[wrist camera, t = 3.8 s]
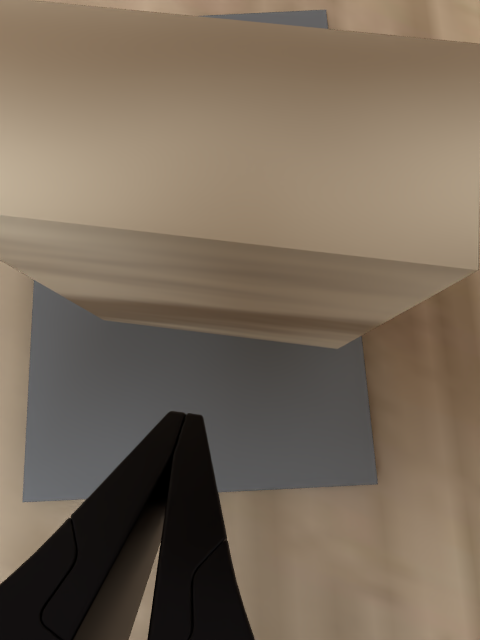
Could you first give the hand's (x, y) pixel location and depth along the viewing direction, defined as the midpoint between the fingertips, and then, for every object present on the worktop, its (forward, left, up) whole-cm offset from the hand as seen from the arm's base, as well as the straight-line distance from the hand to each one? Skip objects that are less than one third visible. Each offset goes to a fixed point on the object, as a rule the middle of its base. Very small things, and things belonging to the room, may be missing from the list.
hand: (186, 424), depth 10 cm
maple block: (+6, -1, -7) cm, 9 cm away
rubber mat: (+8, 0, -7) cm, 11 cm away
